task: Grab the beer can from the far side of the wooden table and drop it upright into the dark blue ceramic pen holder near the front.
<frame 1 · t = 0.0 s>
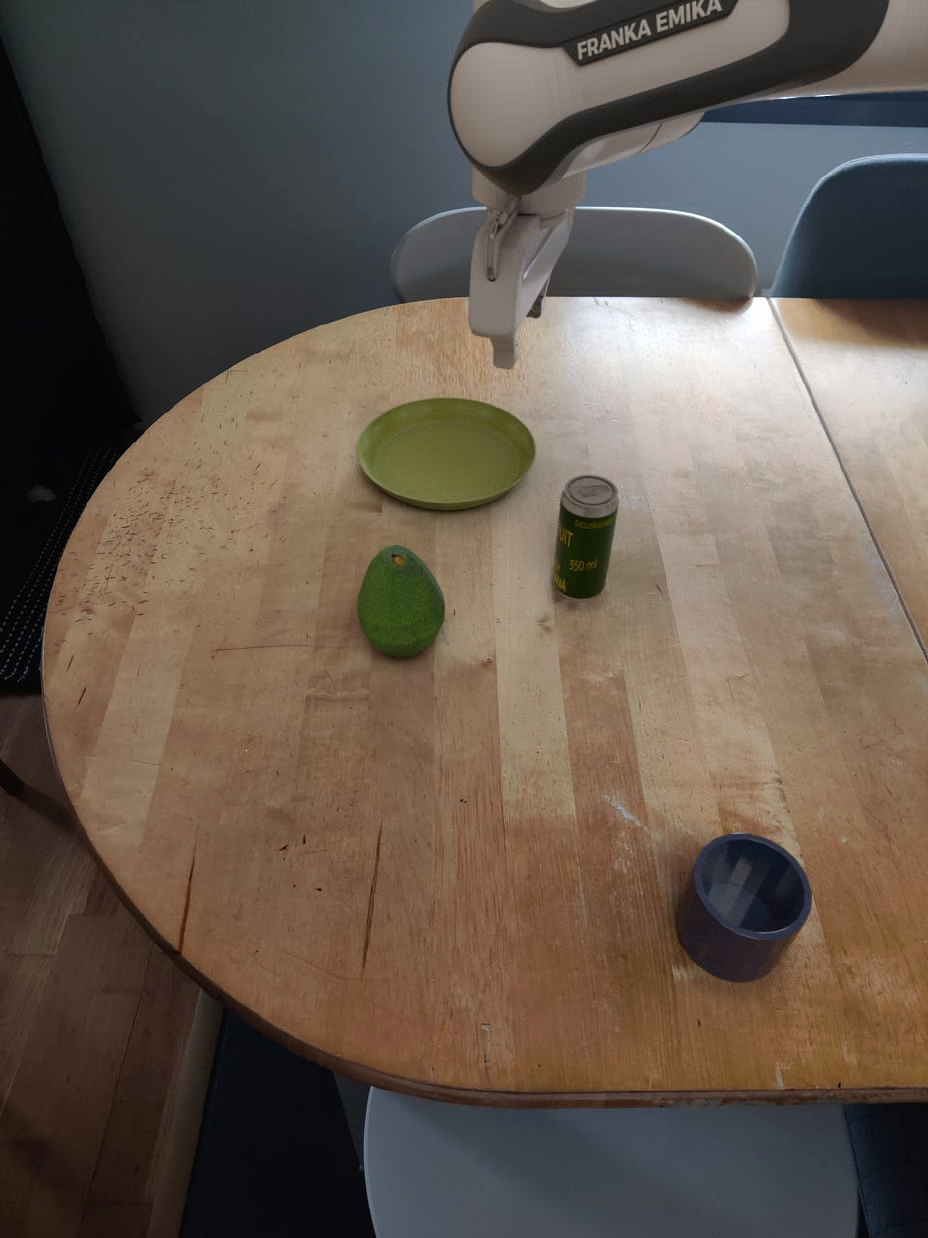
hand: (519, 338, 75), 23 cm above the table, tool pointing down, fingers open, 8 cm apart
beer can: (578, 587, 87), on the table
saucer: (446, 469, 101), on the table
pen holder: (729, 929, 62), on the table
avocado: (404, 646, 81), on the table
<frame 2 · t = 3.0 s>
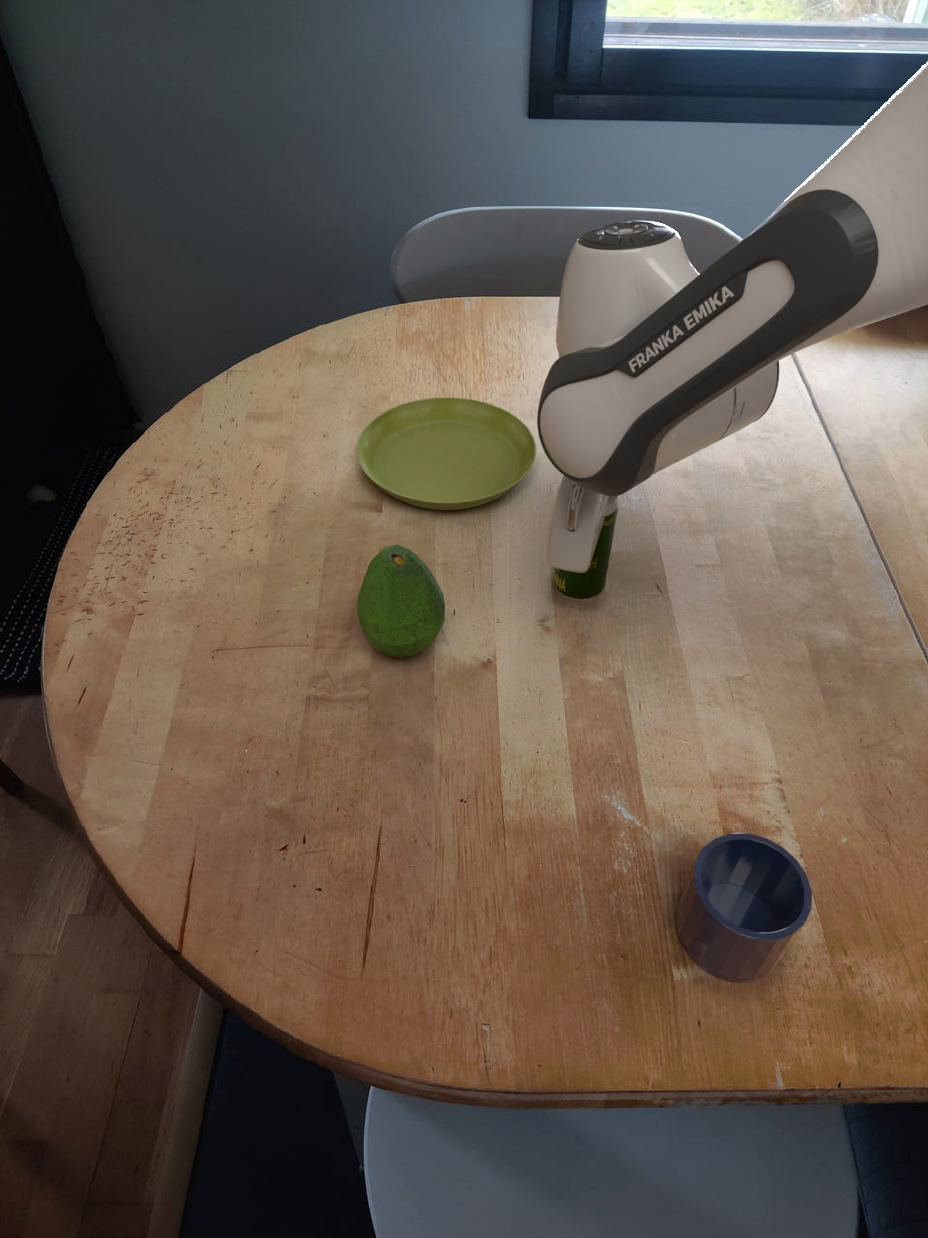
hand: (584, 543, 83), 6 cm above the table, tool pointing down, fingers closed on beer can, 5 cm apart
beer can: (577, 587, 87), on the table, touching gripper
everything else where it was.
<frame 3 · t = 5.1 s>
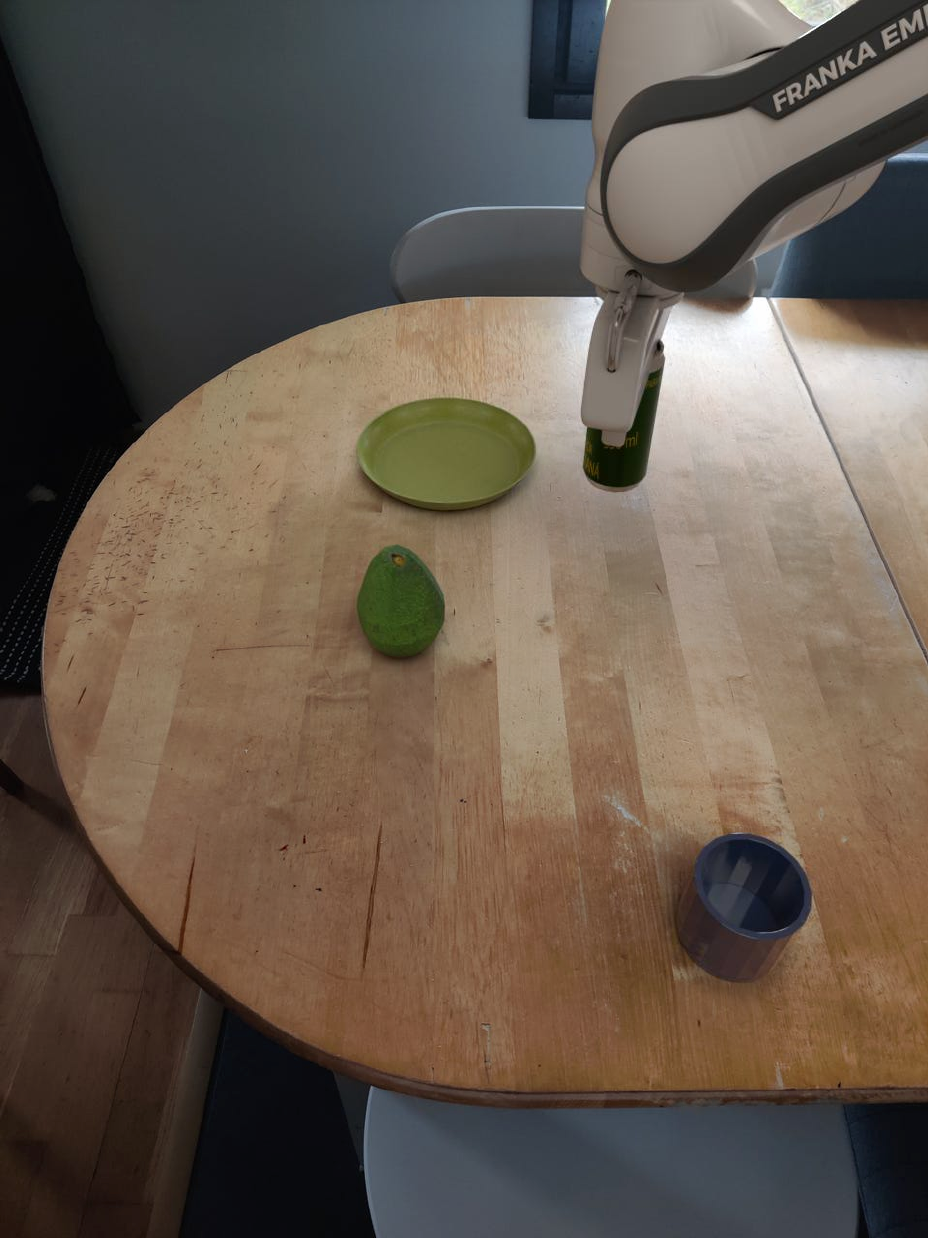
hand: (621, 418, 69), 22 cm above the table, tool pointing down, fingers closed on beer can, 5 cm apart
beer can: (613, 477, 73), point 16 cm above the table, touching gripper
everything else where it was.
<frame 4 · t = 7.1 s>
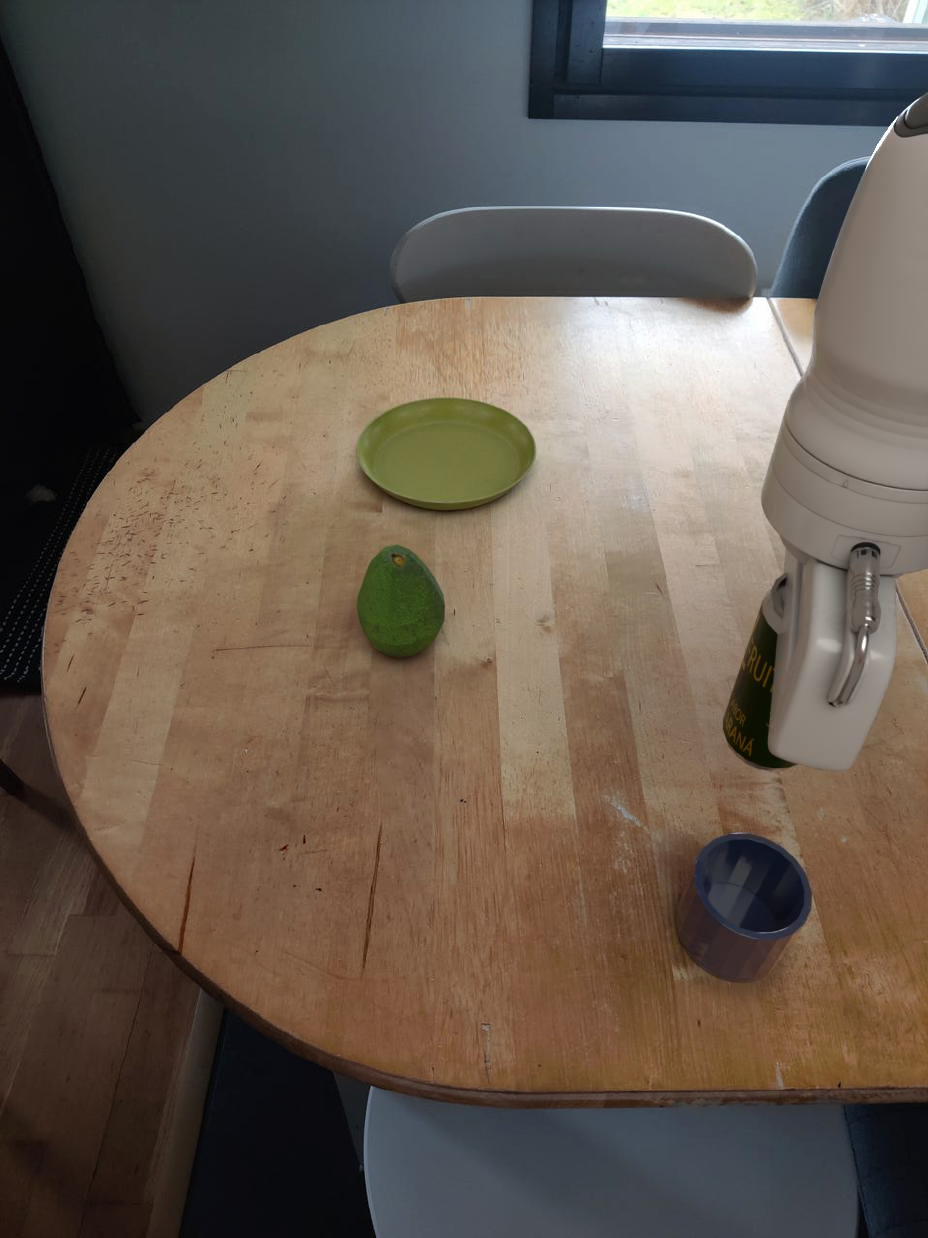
hand: (789, 680, 49), 23 cm above the table, tool pointing down, fingers closed on beer can, 5 cm apart
beer can: (763, 741, 53), point 17 cm above the table, touching gripper
everything else where it was.
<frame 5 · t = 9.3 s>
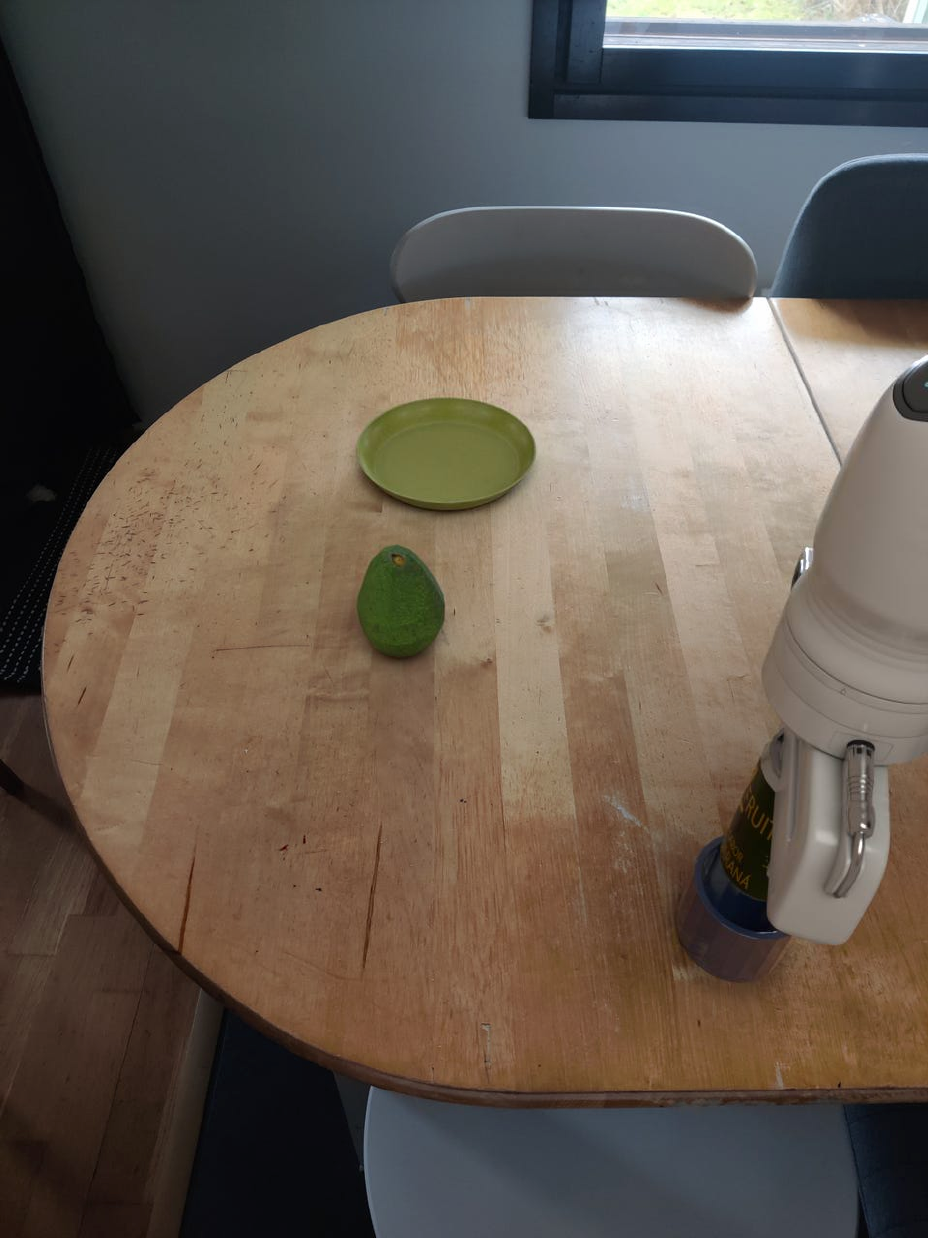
hand: (784, 821, 51), 15 cm above the table, tool pointing down, fingers closed on beer can, 5 cm apart
beer can: (758, 868, 55), point 9 cm above the table, touching gripper
everything else where it was.
when the fingers open (10 cm above the table, at t = 11.2 s): beer can drops 4 cm, resting on pen holder.
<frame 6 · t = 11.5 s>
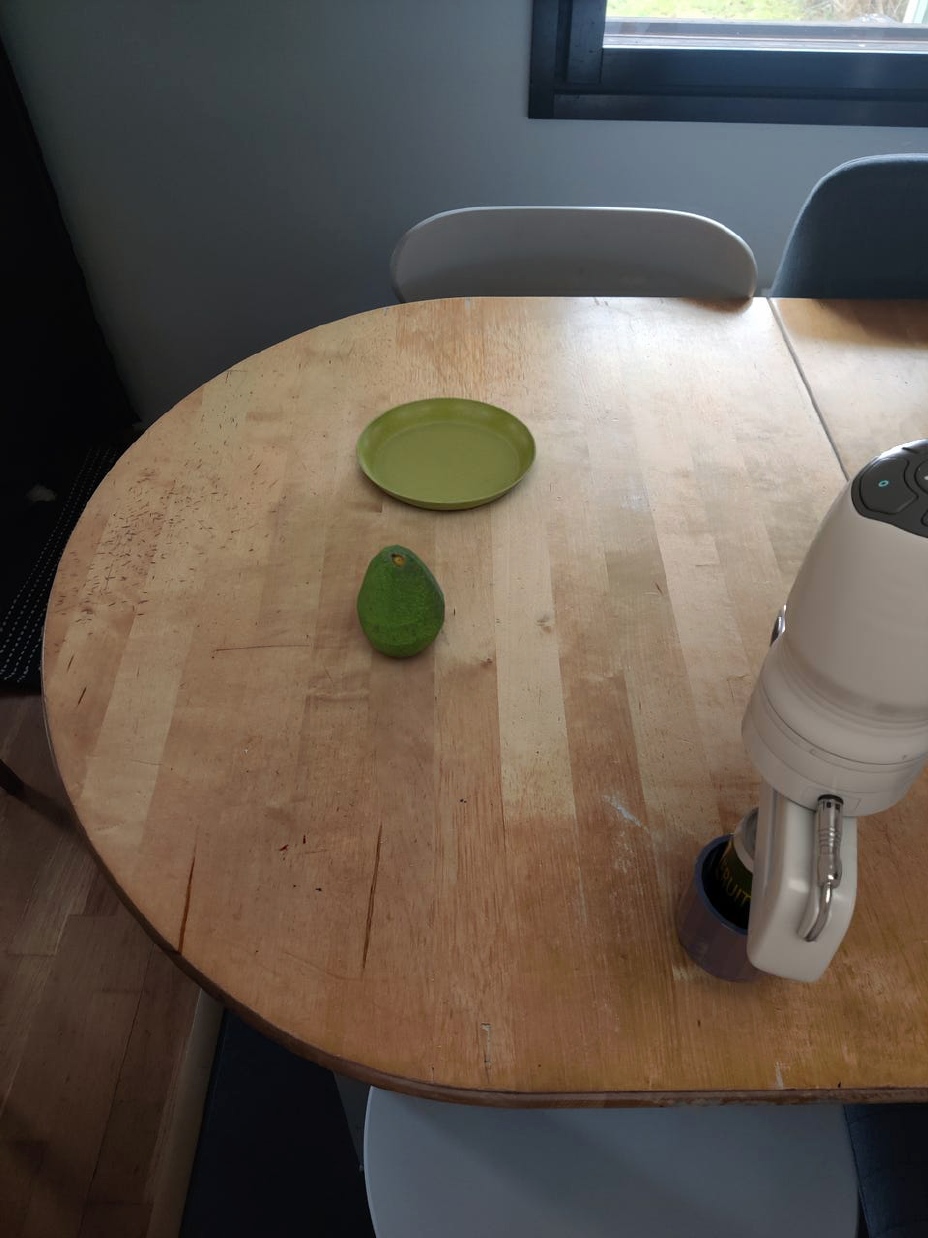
hand: (767, 858, 54), 10 cm above the table, tool pointing down, fingers open, 8 cm apart
beer can: (733, 926, 62), resting on pen holder
everything else where it was.
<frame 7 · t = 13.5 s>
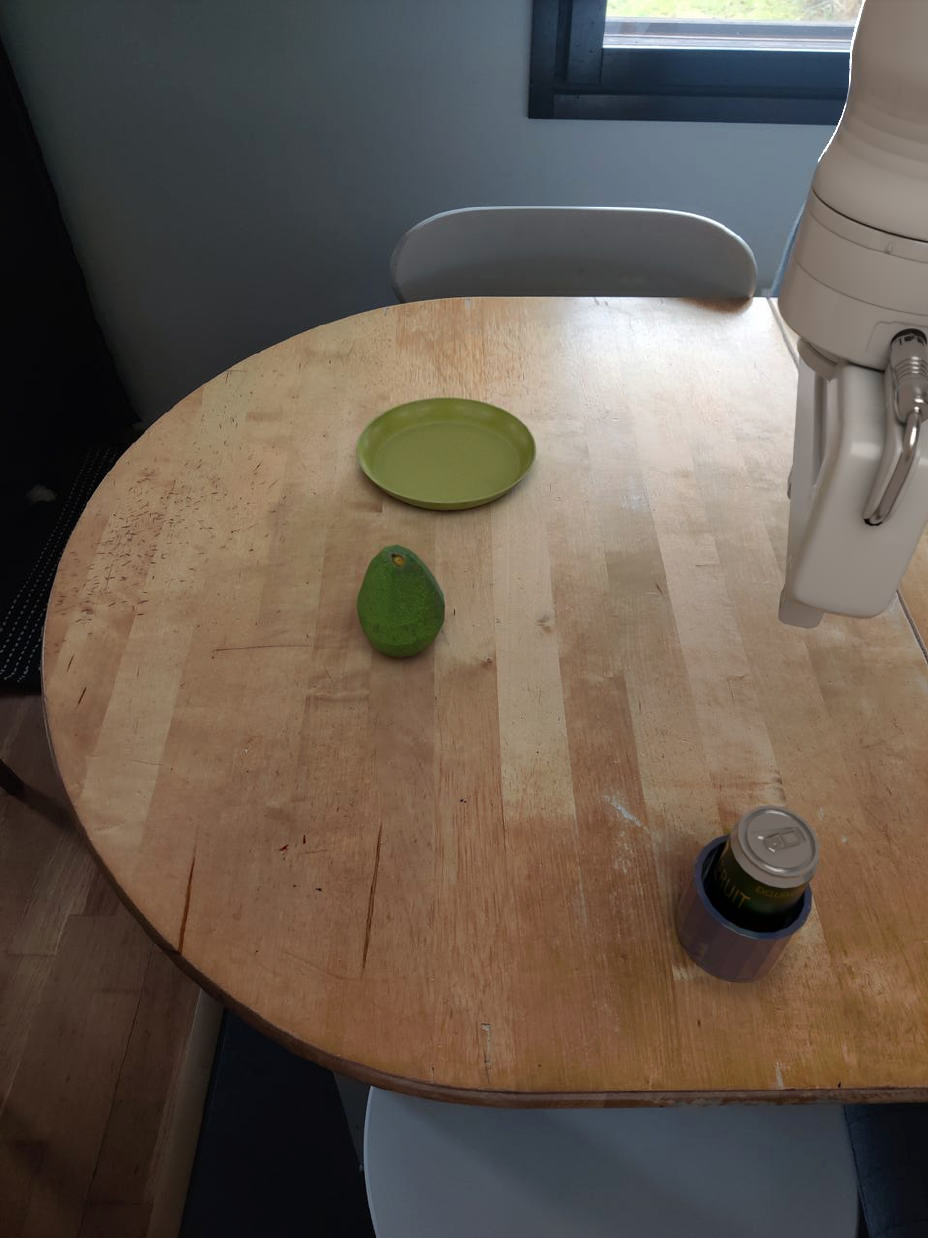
hand: (799, 550, 43), 32 cm above the table, tool pointing down, fingers open, 8 cm apart
nothing on the table moved.
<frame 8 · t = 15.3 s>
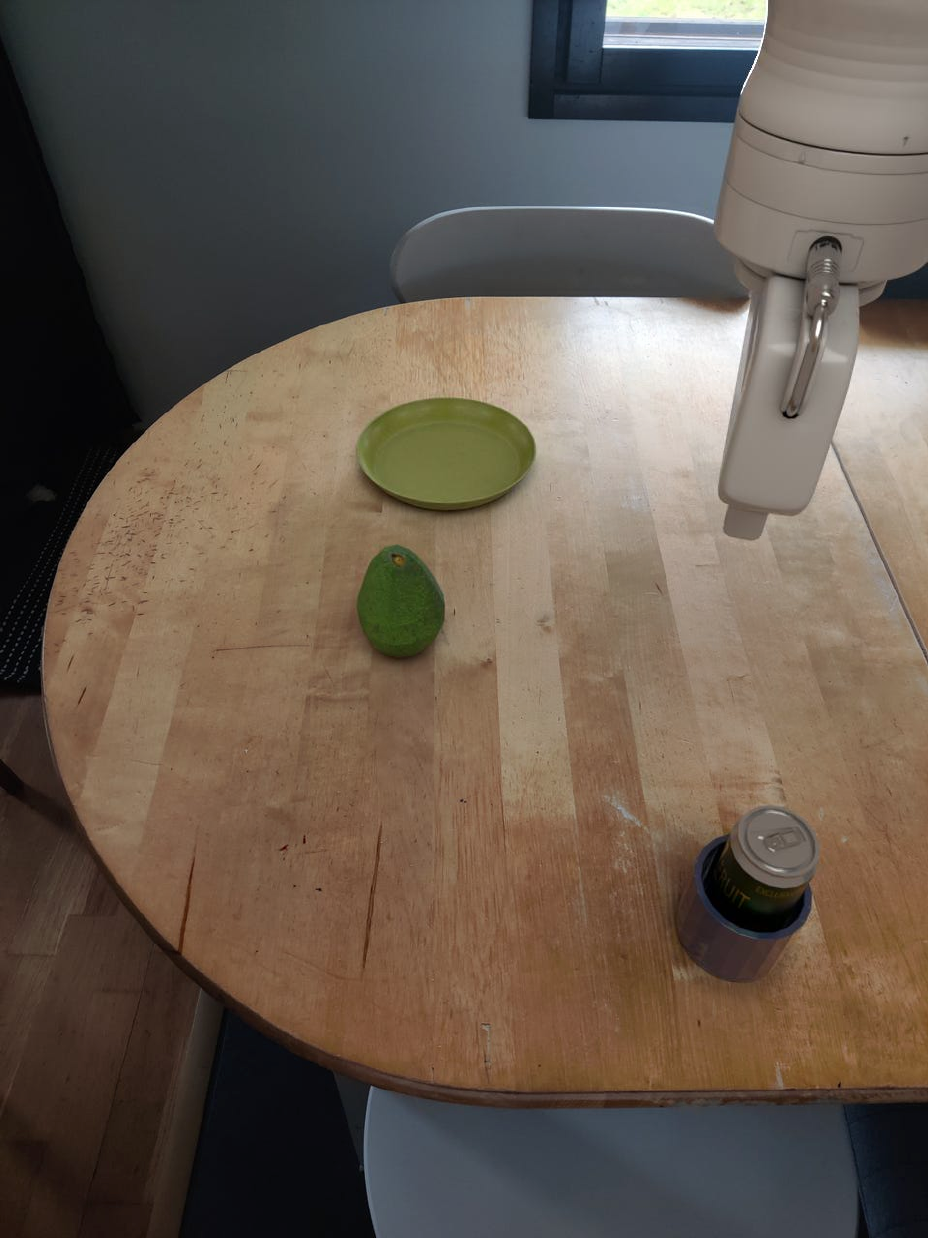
hand: (748, 474, 45), 33 cm above the table, tool pointing down, fingers open, 8 cm apart
nothing on the table moved.
at the end: beer can 0.2 cm off-centre in the pen holder, point 0.4 cm above the pen holder's base; beer can tilted 0°; the gripper is holding nothing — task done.
